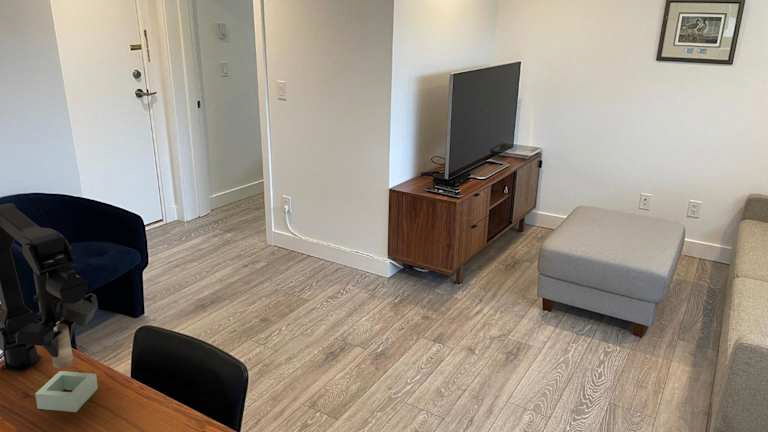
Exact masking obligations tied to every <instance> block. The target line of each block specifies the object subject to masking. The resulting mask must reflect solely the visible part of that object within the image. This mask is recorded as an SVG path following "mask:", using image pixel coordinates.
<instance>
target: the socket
mask: <svg viewBox="0 0 768 432" xmlns="http://www.w3.org/2000/svg"><path fill="white" fill-rule="evenodd" d="M98 386H99V385H98V379H97V373H87V372H76V371H65V370H59V371H58V372H57V373H56V374H54V375H53V376H52V377H51V379H49V380H48V381H47V382H46V383H45V384H44V385H43V386H42V387H41V388H39V390H37V391H36V392H35V393H34V396H35V400H36V401H35V402H36V407H37V409H38V410H46V411H47V410H48V411H58V412H68V413H69V412H70V413H77V412H78V411H79V410H80V408H82V407H83V405H84V404H85V403H86V402H87V401H88V400H89V399H90V398H91V397H92V395H93V394H95V392H96V391H97V390H98V389H99V387H98ZM64 390H65V391H64ZM66 390H67V391H66Z"/></svg>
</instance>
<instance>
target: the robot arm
mask: <svg viewBox="0 0 768 432" xmlns="http://www.w3.org/2000/svg"><path fill="white" fill-rule="evenodd" d="M15 240H16V241H17V242H18V243H19V244H20V245H21V246H22V247H21V250H22V254H23V257H24V258H25V259H26V262H27V263H28V265H29V266H30V267H31V268H32V269H31V270H32V271H33V278H34V279H33V280H34V284H35V285H34V286H35V290H36V294H35V295H34V296H32V300H33V302H37V303H38V309H39V311H38V312H36V313H35V312H34V311H32V310H31V309H30V308H28V306H26V305H25V303H24V298H23V294H22V291H21V286H20V282H19V277H18V273H17V270H16V265H15V260H14V256H13V253H12V247H13V244H14V242H15ZM63 257H64V258H63ZM75 257H76V254H75V253H74V251H73V248H72V247H71V246H70V244H69V242H68V240H67V239H66V237H65V236H64V235H62V234H61V233H60V232H59V231H57V230H55V229H53V228H50V227H41V226H38V225H37V224H36V223H35V222H34V221H33V220H31V219H30V218H29V217H28V216H26V215H25V214H24V213H22V212H21V211H20V210H18V207H17V205H16V204H15V203H10V202H8V203H5V204H4V203H3V204H0V307H1V309H0V351H1V352H2V353H3V359H4V360H3V361H4V364H3V365H2V366H0V368H1V370H5V371H8V370H9V371H20V372H25V371H27V370H29V369H30V368H31V367H32V366H33V365H35V363H37V362H38V361H39V360H40V359H41V358H42V355H40V354H38V351H37V346H39V347H40V346H41V347H43V348H44V349H45V350H46V351H47V352H48V354H50V356H51V358H52V357H58V336H59V335H60V334H61V333H62V331H57V324H67V325H68V329H69V335H70V342H71V341H72V337H73V334H74V329H75V325H77V326H79V327H83V326H86V325H87V323H88V322H90V321H91V320H93V319H94V315H95V311H97V310H98V309H99V305H98V303H99V302H98V298H97V295H96V294H94V293H92V292H89V291H88V290H89V285H88V282H87V281H86V280H85V278H83V277H81V276H79V275H78V274H77V272H76V270H74V269H71V266H75V265H77V259H76V258H75ZM59 258H61V259H59ZM56 259H58V260H56ZM88 292H89V293H88ZM39 319H41V321H40V320H39Z"/></svg>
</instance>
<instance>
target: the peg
mask: <svg viewBox="0 0 768 432" xmlns="http://www.w3.org/2000/svg"><path fill="white" fill-rule="evenodd" d="M57 331H62V333H61V334H60V335H59V336H58V357H52V356H51V359H52V366H53V368H56V369H64V368H67V367H69V366H71V365H72V364H73V363H74V356H73V350H72V344H71V342H70V335H69V329H68V325H67V324H57Z"/></svg>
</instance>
